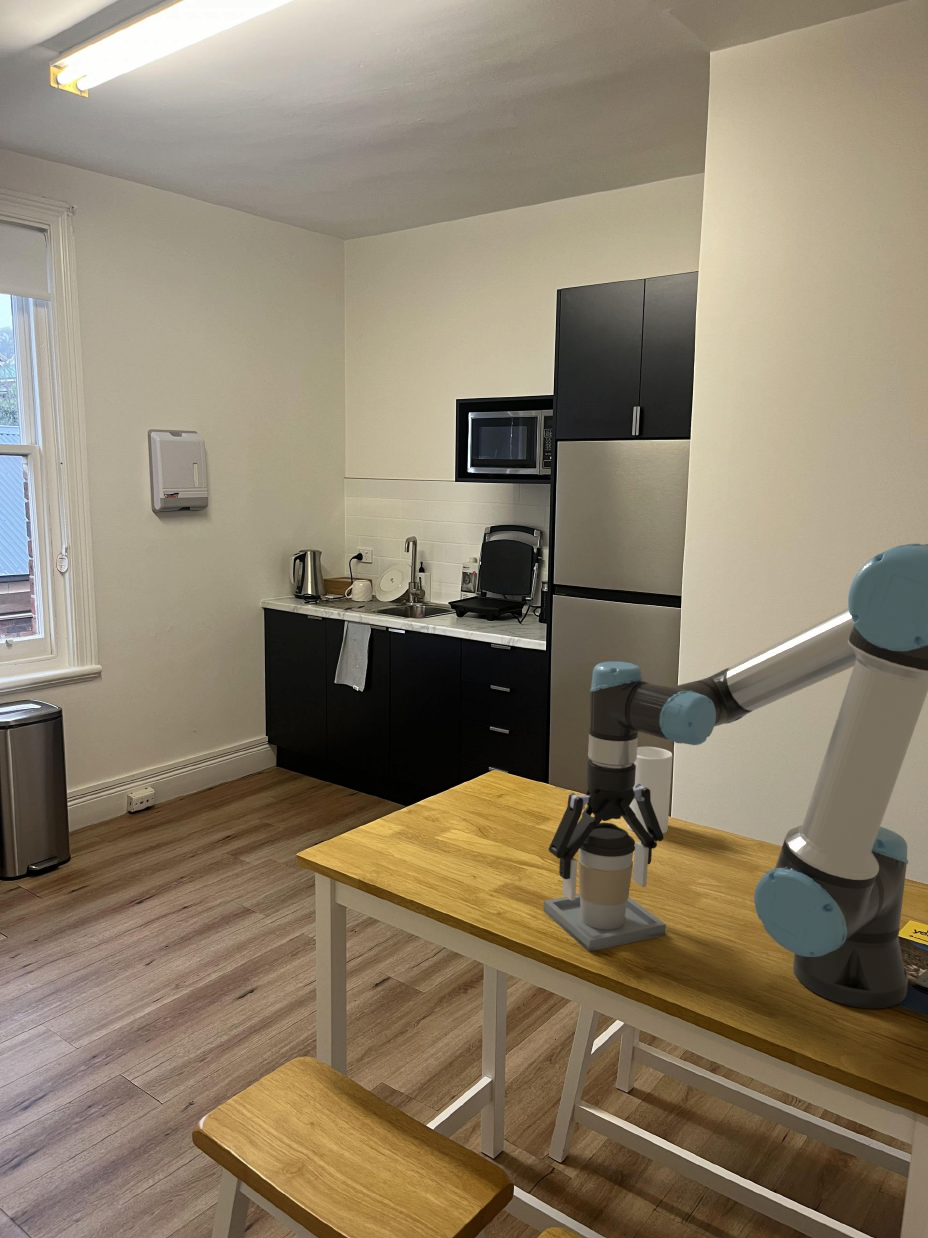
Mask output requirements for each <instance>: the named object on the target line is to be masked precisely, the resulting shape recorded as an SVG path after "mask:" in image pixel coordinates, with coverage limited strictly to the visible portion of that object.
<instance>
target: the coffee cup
mask: <svg viewBox="0 0 928 1238" xmlns="http://www.w3.org/2000/svg"><path fill="white" fill-rule="evenodd" d="M635 842H636V840H635V839H634V838H633V837H632V836H631V835H629V832H628V831H627V830H625V829H623V828H621V827H619V826H617V824H614V823H612V822H600V824H599V825H598V826H595V827H594V829H593V830H592V831H591V833H590V834H589V836H588V837H587V839H586V840H585V841H584V843H583V844H582V846H581V847H580V848H579V850H578V858H577V859H578V860H577V866H578V891H579V892H578V894H580V904H581V920H582V921H583V922H584V923H585V924H586V925H588V926H590V927H593V928H597V929H605V930H609V929H616V928H619V927H621V926H622V925H623V924H624V920H625V912H626V905H627V900H628V898H629V897H630V891H631V890H630V888H631V881H632V876H633V868H634V860H633V859H634V851H635Z"/></svg>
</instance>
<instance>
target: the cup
mask: <svg viewBox="0 0 928 1238" xmlns="http://www.w3.org/2000/svg"><path fill="white" fill-rule="evenodd" d="M672 762H673V753H672V752H671V751H670V750H667V749H664V748H660V747H655V746H639V747H638V746H637V760H636V761H635V762H634V764H635V765H636V775H635V785H634V787H633V788H635V787H636V785H637V784H640V785H642V786H644V787H646V788H648V789H650V797H651V804H652V807H653V809H654V812H655V815H656V817H657V820H658V823H659V825H660V828H661V831H662V833H663V835H664V834H666V833H667V832H668V830H669V829H668V827H669V813H670V799H671V798H670V797H671V796H670V795H671V782H672V767H673V763H672ZM630 808H631V809H632V810H633V812H634V813H635V814H636V817H637V819H638V820H639V821H640V823H641V824H642V825H643V827H644V828H645V829H646V831H647V828H646V826H645V823H644V820H643V818H642V815H641V812H640V810H639V807H638V804H637V801H636V799H635V798H634V799H633V801H632V802H631V804H630ZM626 827H627V829H629V831H631V832H633V830H632V829H631V828H630V826H629V825H628V824H627V823H626ZM647 832H648V831H647Z"/></svg>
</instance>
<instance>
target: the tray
mask: <svg viewBox="0 0 928 1238" xmlns="http://www.w3.org/2000/svg"><path fill="white" fill-rule="evenodd" d="M543 912H544V913H545V914H546V915H547V916H549V918H551V919H552V920H553V921H554V922H555V923H556V924H557V925H558V926H560V927H561V928H562V929H563V930H564V931H565V932H566V933H568V934H569V936H571V937H572V938H573V939H574V940H575V941H576V942H577V943H578V944H579V945H581V947H583V948H584V949H585V950H586V951H587V952H589V953H590V952H595V951H599V950H603V949H607V948H608V949H609V948H612V947H613V948H614V947H618V946H622V945H626V944H631V943H635V942H640V941H644V940H649V939H653V938H654V939H655V938H659V937H662V936H666V930H667V929H666V928H667V924H666V923H665V922H663V921H662V920H661V919H660V918H659V917H657V916H656V915H654V914H653V913H651V912H650V911H649V910H648V909H646V908H644V907H643V906H642V905H641V904H639V903H638V902H637V901H635V899H632V898H631V897H630V896H629V898H628V900H627V905H626V912H625V920H624V924H623V925H622V926H621V927H619V928H616V929H609V930H605V929H597V928H593V927H590V926H588V925H586V924H585V923H584V922H583V921H582V920H581V904H580V894H579V893H578V894H577V893H576V896H575V900H572V901H571V900H570V899H569V898H567V897H566V896H562V897H558V898H550V899H546V900H544V901H543Z"/></svg>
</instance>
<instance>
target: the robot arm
mask: <svg viewBox="0 0 928 1238" xmlns="http://www.w3.org/2000/svg"><path fill="white" fill-rule="evenodd" d="M851 582H852V583H851V585H850V588H849V591H848V598H847V600H848V602H847V603H848V605H847V606H848V607H847V608H846V609H843V610H842V611H840V612H839V611H838V613H836V614H833V615H831V616H829V617H827V618H825V619H823V620H821V621H819V622H817V623H815V624H814V625H811V626H809V627H807V628H805V629H804V630H801V631H799V632H798V633H795V634H794V635H791V636H789V637H787V638H785V639H783V640H782V641H779V642H777V643H775V644H773V645H770V647H767V648H765V649H763V650H761V651H758V652H757V653H755V654H753V655H751V656H749V657H747V658H744V659H743V660H741V661H739V662H737V663H734V664H733V665H730V666H729V667H727V668H725V669H723V670H721V671H719V672H717V673H714V674H712V675H710V676H707V677H705V678H702V679H699V680H695V681H690V682H686V683H682V684H678V685H673V686H665V685H661V684H660V685H659V684H654V683H650V682H647V681H643V677H642V669H641V667H640V666H639V665H637V664H635V663H631V662H626V661H603V662H599V663H597V664H596V665H595V666H594V667H593V670H592V677H591V684H590V690H589V692H590V693H589V694H590V695H589V696H590V701H589V702H590V704H589V705H590V706H589V707H590V708H589V711H590V713H589V715H590V716H589V719H590V720H589V729H588V732H589V734H588V747H587V748H588V749H587V751H588V752H587V757H588V759H589V760H588V761H587V763H586V764H587V765H586V785H587V790H586V793H585V794H584V795H583V794H580V795H579V794H576V793H573V792H571V793H569V795H568V800H567V807H566V809H565V812H564V813H563V815H562V817H561V820H560V822H559V824H558V826H557V829H556V832H555V834H554V836H553V838H552V840H551V843H550V845H549V847H548V852H549V853H550V854H551V855H553V856H554V857H555V858H557V859H559V866H558V867H559V868H558V870H559V871H558V873H559V876H560V877H561V878H562V894H563V896H564V897H567V898H569V899H570V900H571V901H572V900H575V896H576V895H577V892H576V891H577V877H578V876H577V873H578V872H577V871H578V860H577V859H576V857H575V856H576V855H577V853H578V852H579V848H580V847H581V846H582V844H583V843H584V841H585V840H586V839H587V837H588V836H589V834H590V833H591V831H592V830H593V829H594V827H595V826H598V825H599V824H600V823H602V821H603V822H608V821H610V820H613V819H614V820H620V819H621V817H622V818H623V820H624V821H625V822H626V825H627V824H628V825H629V826H630V828H631V829H632V830H633V831H632V832H633V833H634V835H635V836H636V837H637V839H638V840H639V841H635V845H634V846H635V850H634V851H633V867H632V881H633V882H635V883H636V884H638V885H639V886H640V887H641V888H644V887H647V882H648V881H647V880H648V865H650V864H651V862H652V854H653V849H656V848H657V845H658V843H657V842H662V841H663V840H664V834H663V833H662V831H661V828H660V825H659V823H658V820H657V817H656V815H655V812H654V809H653V807H652V804H651V797H650V789H648V788H646V787H644V786H642V785H640V784H637V785H636V787H635V788H633V787H634V785H635V775H636V765H635V764H634V762H635V761H636V760H637V747H638V739H639V738H638V737H639V736H638V734H639V733H642V734H645V735H650V736H653V737H657V738H660V739H664V740H668V741H671V742H673V743H675V744H683V745H684V744H686V745H690V746H699V745H701V744H703V743H705V742H706V741H707V739H708V737H709V738H710V736H711V734H712V733H713V730H714V728H715V727H717V726H720V725H724V724H726V725H727V724H731V723H734V722H736V721H739V720H740V719H742V718H743V717H745V716H747V714H750V713H752V712H753V711H756V710H758V709H760V708H763V707H765V706H767V705H769V704H772V703H774V702H776V701H779V700H781V699H783V698H785V697H788V696H790V695H792V694H794V693H797V692H800V691H802V690H803V689H806V688H808V687H810V686H813V685H814V684H817V683H819V682H822V681H824V680H826V679H828V678H831V677H832V676H835V675H837V674H840V673H842V672H844V671H847V670H849V669H851V668H852V670H851V674H850V678H849V680H848V683H847V686H846V689H845V693H844V696H843V699H842V701H841V705H840V708H839V712H838V714H837V717H836V720H835V724H834V727H833V729H832V732H831V736H830V738H829V742H828V745H827V748H826V752H825V754H824V758H823V760H822V763H821V766H820V770H819V773H818V777H817V779H816V782H815V785H814V788H813V792H812V795H811V798H810V801H809V804H808V807H807V810H806V813H805V816H804V819H803V822H802V825H800V826H796V827H793V828H791V829H789V830H788V831H787V832H786V835H785V836H784V837H785V838H784V840H783V844H782V847H781V848H780V852H779V856H778V859H777V862H776V864H775V867H774V868H772V869H770V870H768V871H766V872H765V874H764V875H762V877H761V878H760V880H759V881H758V882H757V885H756V888H755V890H754V897H753V899H754V908H755V912H756V914H757V917H758V919H759V920H760V921H761V923H762V924H763V928H764V930H765V932H766V933H767V934H768V935H769V936H770V937H771V938H772V939H773V940H774V941H775V942H776V943H777V944H778V945H780V947H782V948H784V949H785V950H787V951H789V952H791V953H793V954H794V955H793V968H792V969H793V973H794V975H795V977H796V979H797V980H798V981H799V982H800V983H801V984H802V985H803V986H804V987H806V988H807V989H808V990H810V991H811V992H813V993H815V994H817V995H819V996H821V997H823V998H825V999H827V1000H830V1001H832V1002H834V1003H838V1004H842V1005H844V1006H845V1005H846V1006H848V1007H855V1008H861V1009H874V1010H875V1009H886V1008H891V1007H894V1006H897V1005H899V1004H901V1003H902V1002H903V1001H904V1000H905V998H906V997H907V994H908V993H907V992H908V984H909V983H908V982H909V978H908V973H907V970H906V968H905V965H904V960H903V956H902V950H901V945H900V940H899V937H900V936H899V935H900V926H901V916H902V910H903V909H902V908H903V899H904V892H905V891H904V890H905V882H906V881H905V880H906V874H907V873H906V871H907V865H908V864H909V860H908V844H907V841H906V840H905V839H904V837H903V836H901V835H900V834H898V833H897V832H895V831H893V830H891V829H888V828H886V827H883V826H881V825H882V822H883V819H884V817H885V814H886V811H887V808H888V805H889V802H890V800H891V796H892V793H893V792H894V788H895V786H896V782H897V780H898V777H899V774H900V772H901V768H902V766H903V763H904V760H905V757H906V754H907V750H908V748H909V746H910V743H911V740H912V738H913V734H914V731H915V729H916V726H917V723H918V720H919V719H920V718H919V717H920V715H921V713H922V710H923V706H924V704H925V700H926V698H927V694H928V543H925V544H921V543H907V544H902V545H896V546H894V547H891V548H889V549H887V550H885V551H882V552H880V553H878V554H876V555H875V556H873V557H872V558H870V559H869V560H867V561H866V563H864V564H863V565H862V566H861V568H860V569H859V570H858V572H857V573H856V574H855V576H854V578H853V579H852V581H851ZM634 798H635V799H636V801H637V804H638V807H639V810H640V812H641V815H642V818H643V820H644V823H645V826H646V828H647V831H648V832H647V831H646V829H645V828H644V827H643V825H642V824H641V823H640V821H639V820H638V819H637V817H636V814H635V813H634V812H633V810H632V809H631V808H630V804H631V802H632V801H633V799H634ZM586 805H587V806H586ZM592 815H593V816H592Z"/></svg>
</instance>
